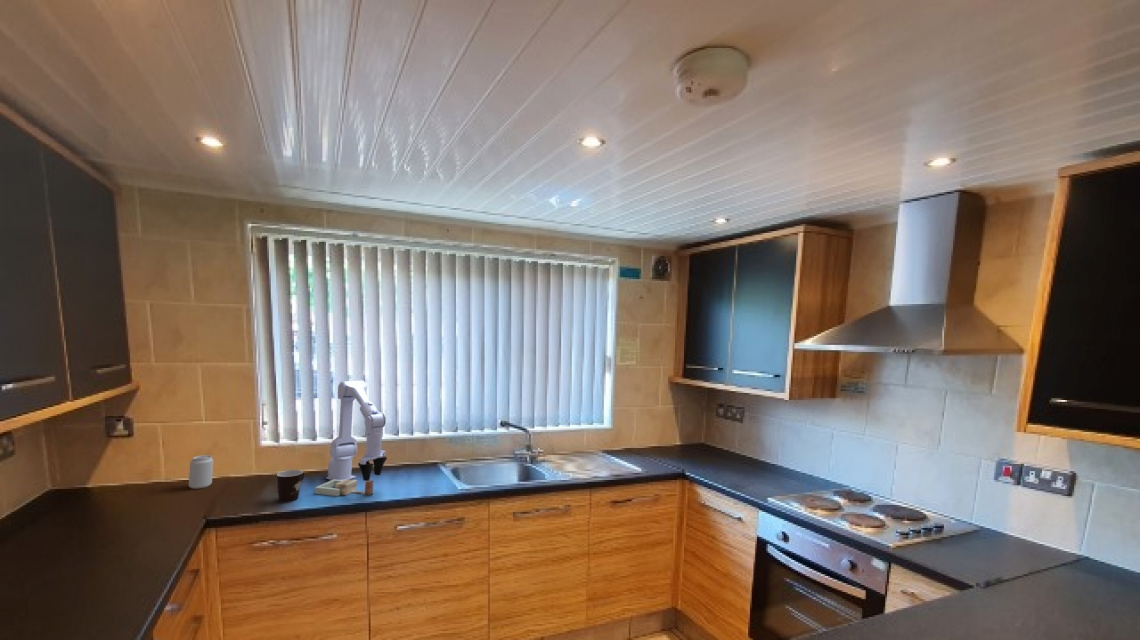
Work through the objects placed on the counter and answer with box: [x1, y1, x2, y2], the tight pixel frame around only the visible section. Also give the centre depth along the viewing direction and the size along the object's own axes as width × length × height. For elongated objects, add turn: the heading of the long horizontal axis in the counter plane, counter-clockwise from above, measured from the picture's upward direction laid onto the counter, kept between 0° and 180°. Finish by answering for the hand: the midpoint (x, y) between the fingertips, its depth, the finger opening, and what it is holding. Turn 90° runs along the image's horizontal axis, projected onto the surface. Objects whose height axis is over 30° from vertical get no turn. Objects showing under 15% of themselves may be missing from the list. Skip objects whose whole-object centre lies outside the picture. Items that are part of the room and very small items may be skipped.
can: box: [188, 454, 214, 490], centre depth 189 cm, size 8×8×12 cm
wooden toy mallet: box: [335, 479, 374, 496], centre depth 188 cm, size 14×6×5 cm, turn 82°
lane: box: [314, 479, 343, 497], centre depth 190 cm, size 10×11×2 cm
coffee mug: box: [276, 469, 305, 503], centre depth 180 cm, size 12×9×10 cm
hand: (371, 477), depth 187 cm, fingers open, 7 cm apart
